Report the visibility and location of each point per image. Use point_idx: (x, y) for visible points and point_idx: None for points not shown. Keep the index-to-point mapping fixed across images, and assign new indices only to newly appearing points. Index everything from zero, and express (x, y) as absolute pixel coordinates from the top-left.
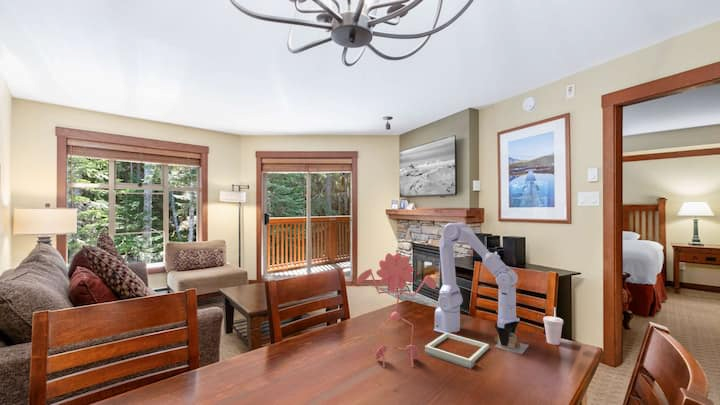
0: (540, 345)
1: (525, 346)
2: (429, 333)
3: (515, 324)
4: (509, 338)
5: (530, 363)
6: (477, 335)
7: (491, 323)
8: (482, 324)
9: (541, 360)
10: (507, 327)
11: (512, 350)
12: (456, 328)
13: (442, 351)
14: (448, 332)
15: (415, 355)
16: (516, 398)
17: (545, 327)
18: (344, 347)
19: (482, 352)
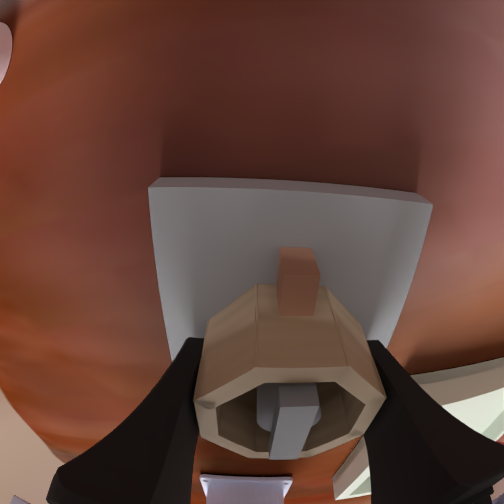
0: (25, 125)
1: (210, 208)
2: (308, 497)
3: (159, 493)
4: (377, 386)
5: (477, 122)
6: (201, 446)
7: (21, 403)
8: (62, 430)
9: (375, 32)
10: (470, 495)
11: (391, 286)
12: (263, 501)
13: (501, 434)
14: (282, 492)
15: (499, 442)
16: None
17: None
18: None
19: (485, 382)
